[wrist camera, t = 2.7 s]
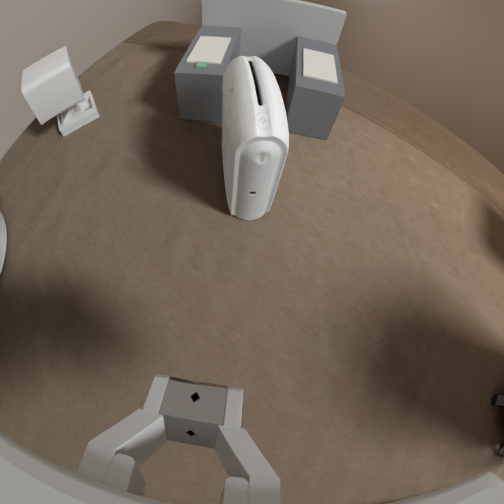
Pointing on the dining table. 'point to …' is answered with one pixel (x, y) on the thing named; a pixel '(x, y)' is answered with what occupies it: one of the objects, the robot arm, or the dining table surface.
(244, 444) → the robot arm
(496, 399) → the coffee press
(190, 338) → the dining table surface
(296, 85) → the module bay
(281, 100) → the photo printer
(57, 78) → the security camera
